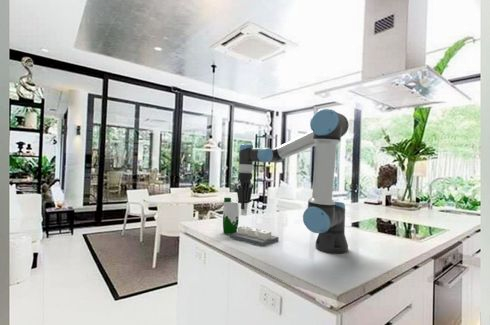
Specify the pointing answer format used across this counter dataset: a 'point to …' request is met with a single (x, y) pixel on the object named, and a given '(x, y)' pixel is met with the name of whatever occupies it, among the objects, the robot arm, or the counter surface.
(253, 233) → the key two
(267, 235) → the key one
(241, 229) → the key three
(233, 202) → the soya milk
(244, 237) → the keypad board
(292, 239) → the counter surface
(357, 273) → the counter surface
